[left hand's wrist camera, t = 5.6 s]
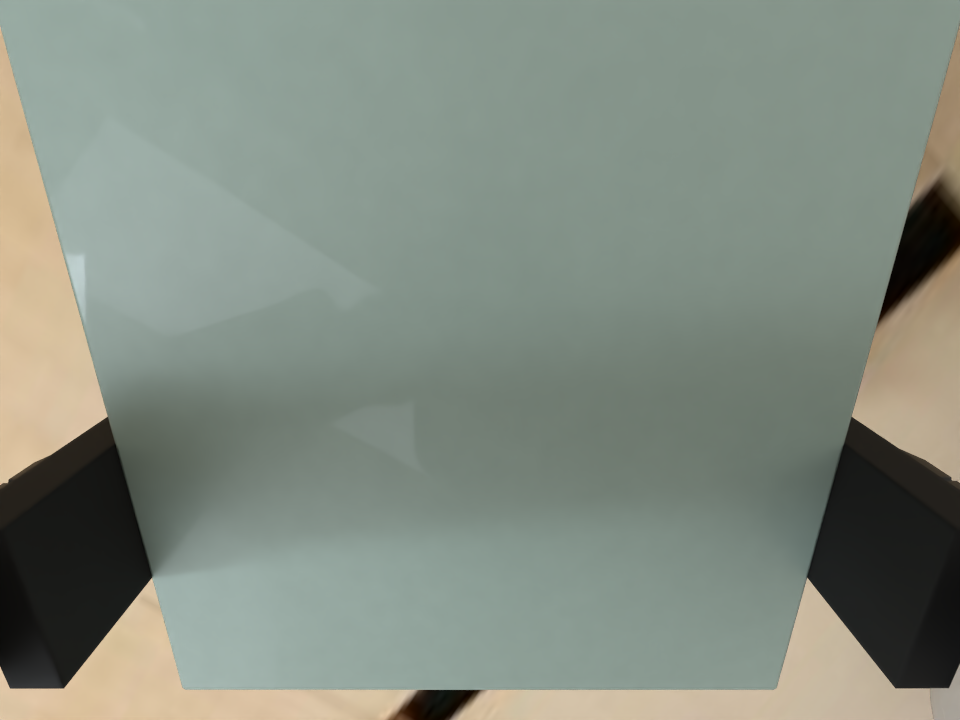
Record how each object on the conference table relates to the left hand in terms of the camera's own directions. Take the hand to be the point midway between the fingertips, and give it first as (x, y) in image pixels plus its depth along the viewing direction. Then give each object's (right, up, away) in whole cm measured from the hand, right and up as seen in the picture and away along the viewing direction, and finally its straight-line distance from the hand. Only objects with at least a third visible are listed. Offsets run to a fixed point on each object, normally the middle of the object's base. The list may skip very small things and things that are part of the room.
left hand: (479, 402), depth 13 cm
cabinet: (0, +7, +4) cm, 8 cm away
